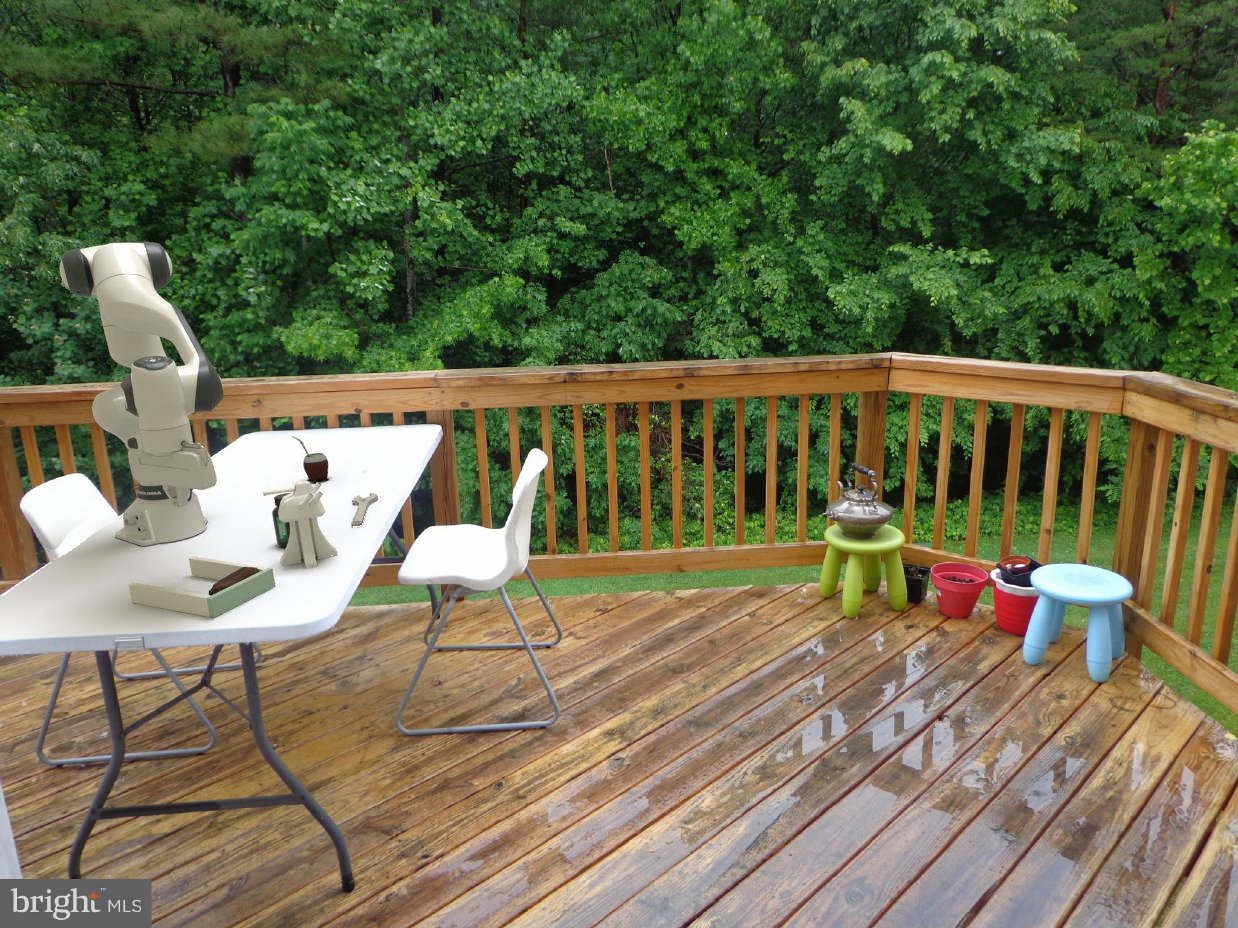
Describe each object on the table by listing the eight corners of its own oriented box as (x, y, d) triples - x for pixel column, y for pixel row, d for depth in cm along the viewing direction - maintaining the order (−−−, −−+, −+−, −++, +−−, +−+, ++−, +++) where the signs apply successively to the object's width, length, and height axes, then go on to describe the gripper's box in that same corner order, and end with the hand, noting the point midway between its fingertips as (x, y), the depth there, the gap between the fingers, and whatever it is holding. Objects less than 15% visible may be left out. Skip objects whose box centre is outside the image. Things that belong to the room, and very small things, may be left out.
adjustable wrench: (362, 529, 216) (361, 522, 215) (336, 531, 215) (335, 524, 215) (379, 498, 240) (379, 491, 239) (356, 499, 239) (355, 493, 239)
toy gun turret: (274, 556, 199) (261, 481, 194) (334, 545, 204) (323, 472, 199) (277, 574, 188) (263, 495, 183) (340, 562, 193) (328, 485, 188)
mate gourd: (334, 477, 262) (327, 429, 258) (323, 484, 254) (315, 435, 250) (310, 477, 262) (303, 429, 258) (299, 485, 255) (291, 436, 251)
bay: (132, 602, 177) (128, 584, 176) (196, 573, 191) (193, 556, 190) (214, 617, 168) (210, 598, 167) (275, 585, 182) (272, 568, 181)
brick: (246, 586, 183) (242, 565, 182) (262, 587, 182) (258, 566, 180) (210, 607, 173) (206, 586, 172) (227, 609, 172) (222, 587, 171)
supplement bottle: (286, 550, 202) (278, 502, 199) (272, 545, 206) (263, 497, 203) (313, 542, 207) (305, 494, 204) (298, 536, 211) (290, 489, 208)
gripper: (218, 439, 170) (229, 506, 174) (146, 432, 178) (158, 495, 182) (191, 447, 164) (203, 516, 168) (118, 439, 173) (131, 505, 177)
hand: (179, 505), depth 175 cm, fingers closed
